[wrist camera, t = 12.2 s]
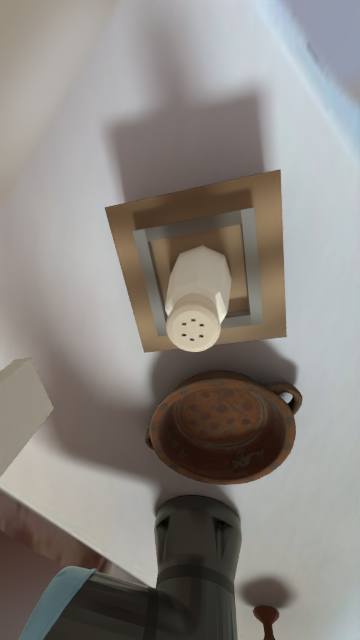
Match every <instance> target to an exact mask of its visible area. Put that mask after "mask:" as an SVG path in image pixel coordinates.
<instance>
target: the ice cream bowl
mask: <svg viewBox="0 0 360 640" xmlns="http://www.w3.org/2000/svg"><path fill="white" fill-rule="evenodd" d="M253 613H254V616H255V617H256V618H257V619H258V620H259V621H260V622H262V623H263V626H264V632H265V636H264V640H275V638H274V636H273V630H272V624H273V623H274V622H275V621H276V620H277V619H278V618H279V612H278V611H277V610H276V609H274V608H271V607H266V606H260V607H257V608H255V609H254V611H253Z"/></svg>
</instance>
